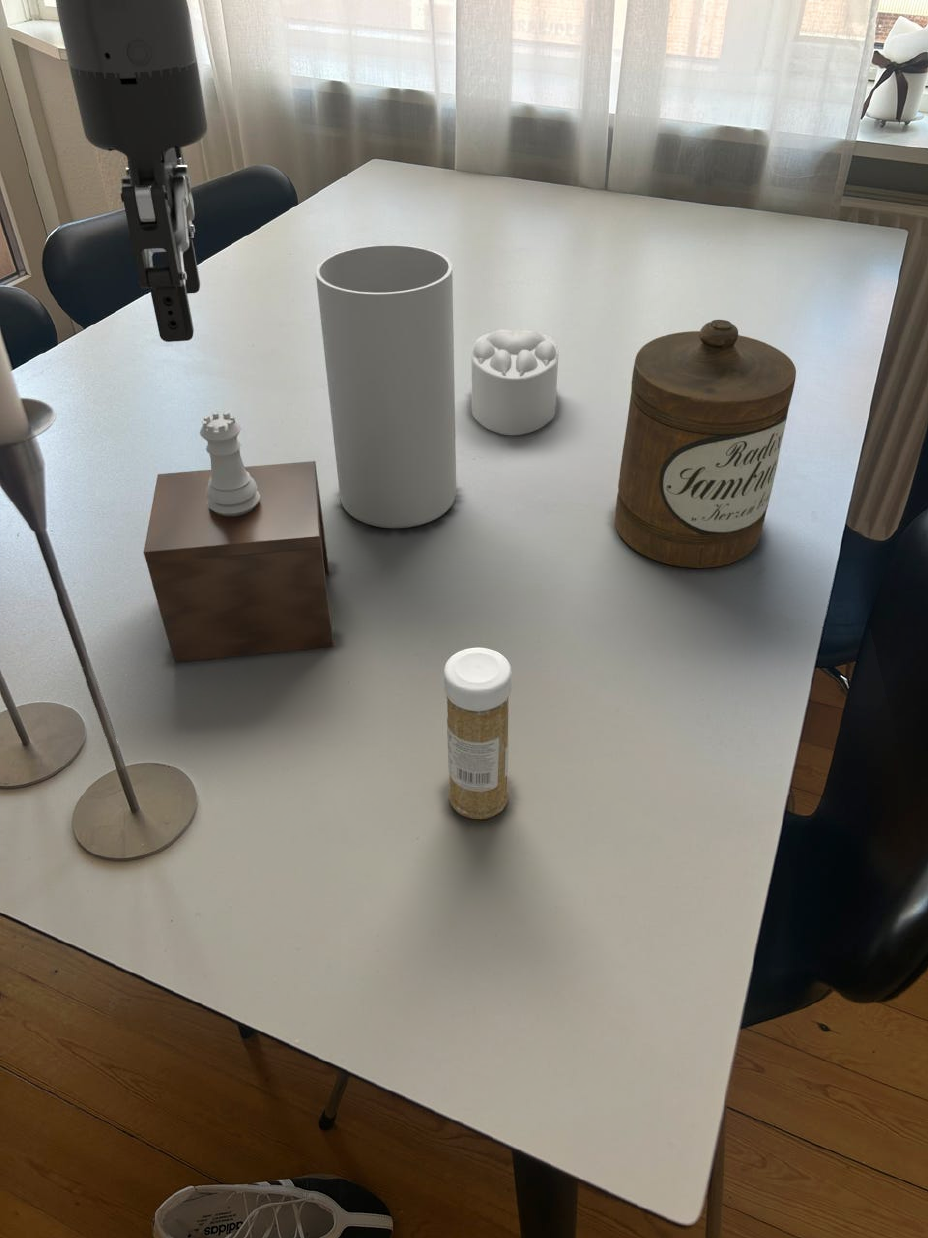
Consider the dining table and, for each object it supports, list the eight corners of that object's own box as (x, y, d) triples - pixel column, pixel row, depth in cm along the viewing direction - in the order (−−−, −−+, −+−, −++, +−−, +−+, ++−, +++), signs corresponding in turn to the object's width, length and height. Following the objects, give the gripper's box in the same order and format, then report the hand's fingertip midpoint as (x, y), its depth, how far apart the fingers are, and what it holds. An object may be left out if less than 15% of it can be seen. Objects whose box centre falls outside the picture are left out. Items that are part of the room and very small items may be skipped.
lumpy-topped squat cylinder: (555, 386, 124) (559, 321, 119) (555, 436, 114) (559, 368, 109) (475, 384, 125) (475, 319, 119) (467, 433, 115) (467, 365, 110)
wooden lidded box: (173, 663, 85) (143, 552, 77) (183, 580, 94) (157, 473, 86) (333, 646, 86) (319, 536, 78) (328, 566, 95) (315, 460, 87)
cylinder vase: (478, 489, 106) (478, 259, 90) (412, 545, 98) (398, 304, 82) (386, 457, 111) (371, 236, 95) (316, 508, 103) (287, 276, 87)
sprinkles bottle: (518, 788, 73) (523, 657, 65) (490, 831, 70) (492, 700, 62) (465, 766, 75) (464, 636, 66) (436, 807, 72) (430, 676, 63)
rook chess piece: (262, 515, 81) (247, 429, 76) (207, 521, 80) (189, 436, 75) (260, 487, 84) (245, 403, 79) (207, 493, 83) (190, 409, 78)
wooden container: (678, 587, 92) (715, 373, 78) (586, 513, 102) (603, 311, 88) (791, 540, 98) (844, 333, 84) (693, 474, 108) (726, 278, 93)
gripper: (85, 36, 63) (138, 281, 74) (47, 80, 53) (116, 360, 63) (201, 33, 64) (237, 275, 75) (188, 76, 53) (233, 353, 64)
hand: (182, 314), depth 69 cm, fingers open, 8 cm apart
